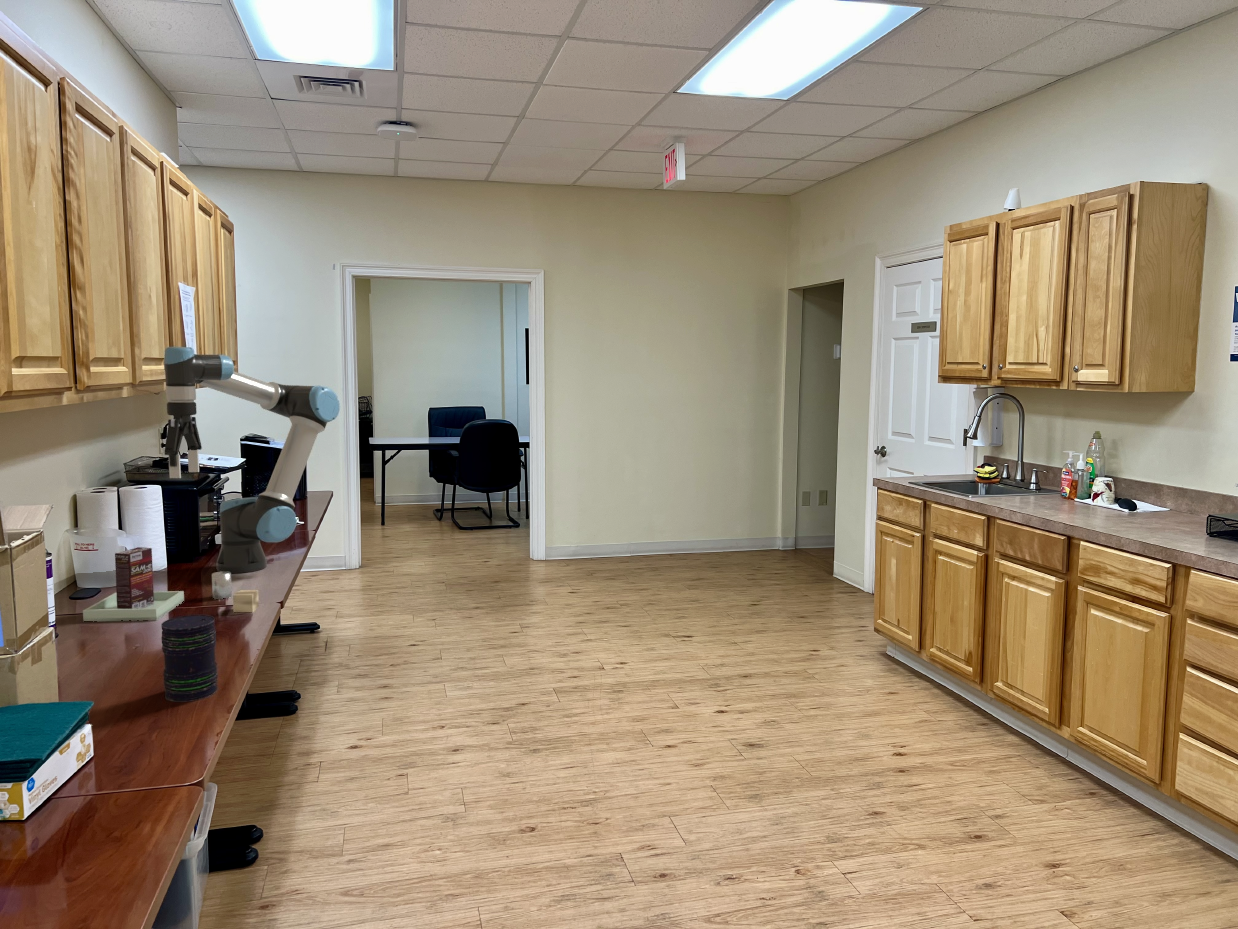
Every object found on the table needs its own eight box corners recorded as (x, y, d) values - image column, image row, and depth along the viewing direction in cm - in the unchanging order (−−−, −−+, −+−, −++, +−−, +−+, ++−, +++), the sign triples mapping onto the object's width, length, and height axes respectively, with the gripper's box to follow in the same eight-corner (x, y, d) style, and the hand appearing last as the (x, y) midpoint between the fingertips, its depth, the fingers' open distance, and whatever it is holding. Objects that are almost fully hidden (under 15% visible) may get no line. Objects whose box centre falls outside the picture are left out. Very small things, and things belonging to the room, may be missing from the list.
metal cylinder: (216, 595, 247) (215, 571, 246) (234, 594, 248) (233, 571, 247) (210, 599, 242) (209, 575, 241) (228, 599, 243) (227, 575, 242)
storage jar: (168, 706, 167) (164, 632, 165) (160, 690, 175) (156, 619, 173) (223, 695, 173) (220, 623, 171) (213, 680, 181) (210, 611, 179)
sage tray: (116, 602, 238) (116, 592, 238) (184, 601, 240) (183, 591, 240) (83, 621, 220) (82, 610, 220) (156, 620, 222) (156, 609, 222)
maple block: (240, 608, 235) (239, 590, 234) (258, 607, 235) (258, 590, 235) (233, 613, 230) (232, 595, 229) (252, 613, 230) (252, 595, 230)
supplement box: (132, 613, 226) (129, 554, 224) (116, 611, 227) (113, 553, 225) (155, 604, 234) (152, 547, 232) (140, 603, 235) (137, 546, 233)
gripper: (184, 399, 255) (188, 469, 258) (148, 403, 231) (152, 480, 233) (211, 399, 256) (214, 469, 258) (177, 403, 231) (181, 480, 234)
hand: (184, 475), depth 246 cm, fingers open, 13 cm apart
